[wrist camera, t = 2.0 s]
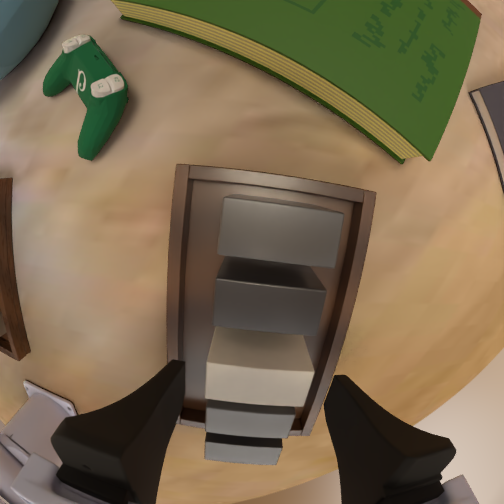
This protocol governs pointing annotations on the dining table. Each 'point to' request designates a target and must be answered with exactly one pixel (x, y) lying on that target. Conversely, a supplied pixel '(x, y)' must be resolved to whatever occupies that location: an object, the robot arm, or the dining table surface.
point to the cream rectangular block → (258, 368)
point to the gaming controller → (90, 90)
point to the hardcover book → (343, 55)
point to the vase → (21, 29)
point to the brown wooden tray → (9, 284)
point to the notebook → (492, 119)
